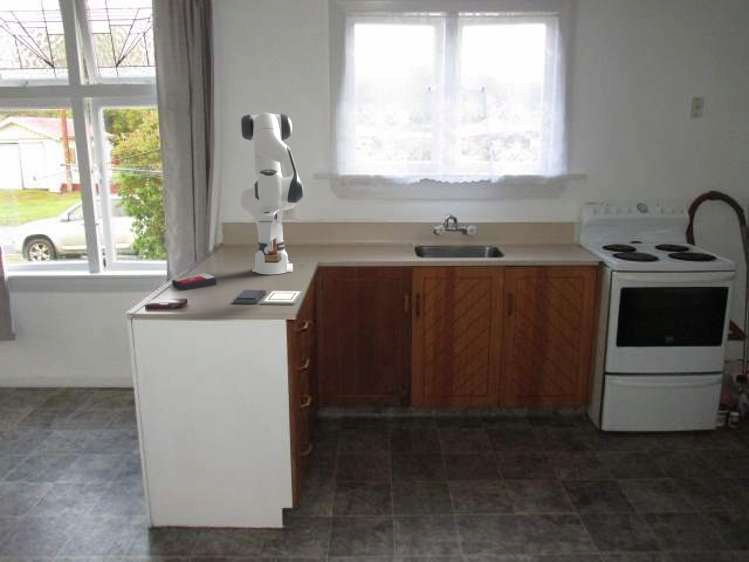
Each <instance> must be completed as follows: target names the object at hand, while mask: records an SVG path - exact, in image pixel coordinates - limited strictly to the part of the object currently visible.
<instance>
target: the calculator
mask: <svg viewBox="0 0 749 562" xmlns="http://www.w3.org/2000/svg"><path fill="white" fill-rule="evenodd" d="M171 283H172V287H174V288H176V289H179V290H181V291H183V292H184V291H190V290H196V289H202V288H205V287H206V288H207V287H213V286H214V287H215V286H217V285H218V284H217V277H215V276H213V275H211V274H208V273H205V272H202V273H196V274H189V275H186V276H185V275H184V276H181V277H176V278H173V280H171Z"/></svg>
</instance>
